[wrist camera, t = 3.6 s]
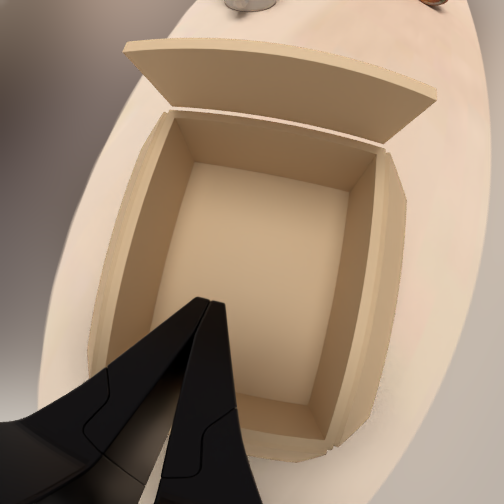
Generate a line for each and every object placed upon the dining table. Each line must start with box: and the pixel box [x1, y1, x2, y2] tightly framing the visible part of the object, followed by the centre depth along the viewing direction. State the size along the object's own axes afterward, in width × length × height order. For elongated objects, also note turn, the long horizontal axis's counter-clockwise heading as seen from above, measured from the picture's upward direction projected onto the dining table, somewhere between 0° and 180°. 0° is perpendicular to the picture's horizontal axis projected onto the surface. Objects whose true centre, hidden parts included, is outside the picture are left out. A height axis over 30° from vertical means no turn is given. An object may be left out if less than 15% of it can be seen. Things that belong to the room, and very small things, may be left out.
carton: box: [87, 110, 407, 463], centre depth 18 cm, size 22×22×7 cm
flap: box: [123, 38, 437, 144], centre depth 13 cm, size 7×13×1 cm
